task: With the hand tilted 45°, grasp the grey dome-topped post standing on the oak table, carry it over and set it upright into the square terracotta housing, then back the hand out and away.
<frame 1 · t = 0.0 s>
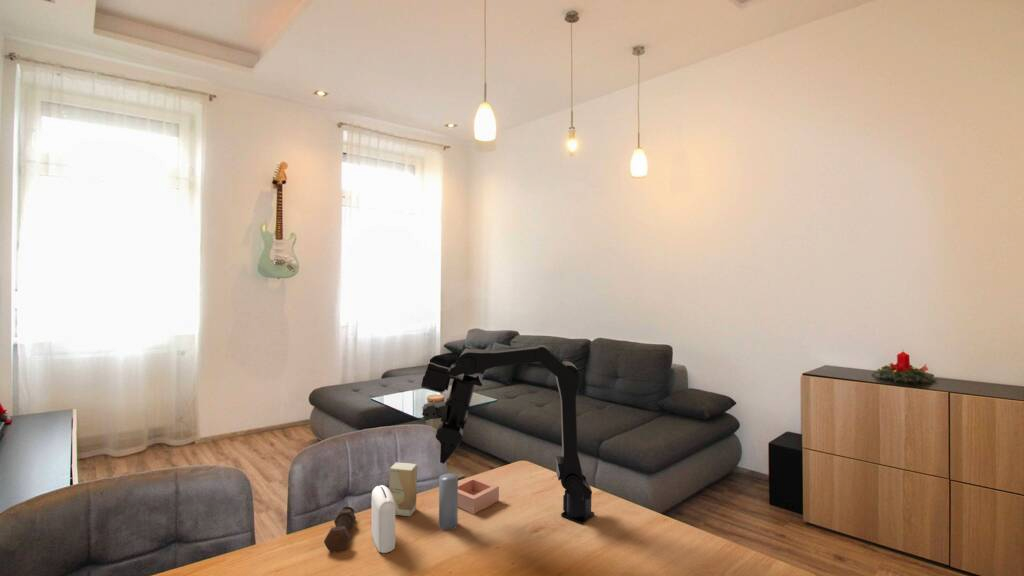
hand: (444, 456, 126), 15 cm above the table, tool pointing down, fingers open, 9 cm apart
housing: (473, 501, 134), on the table
skincare box: (402, 512, 128), on the table
photo printer: (383, 542, 114), on the table
bolt: (343, 535, 117), on the table
grey dome-topped post: (448, 525, 121), on the table
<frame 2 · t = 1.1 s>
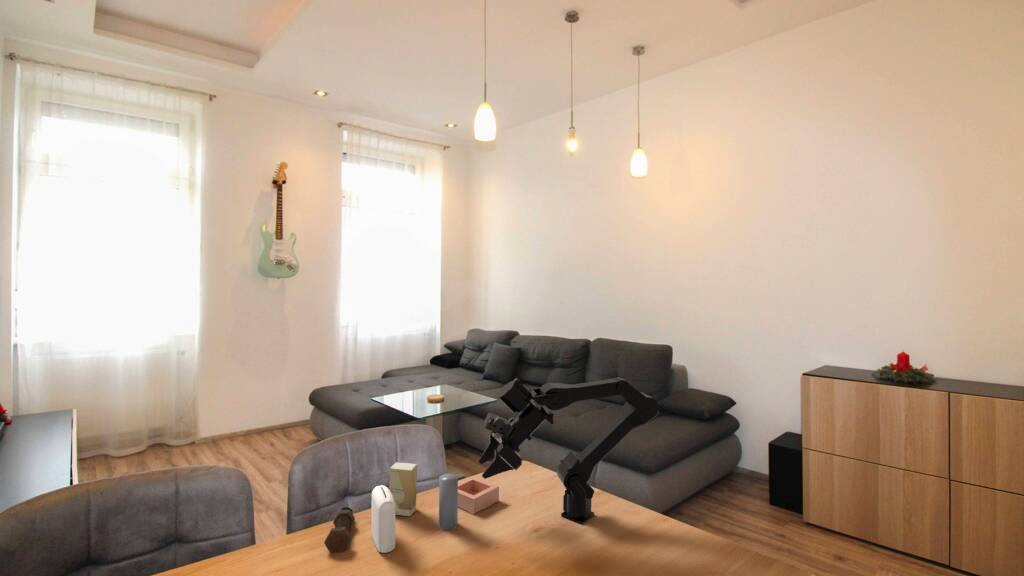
hand: (481, 469, 122), 13 cm above the table, tool tilted 45°, fingers open, 9 cm apart
nothing on the table moved.
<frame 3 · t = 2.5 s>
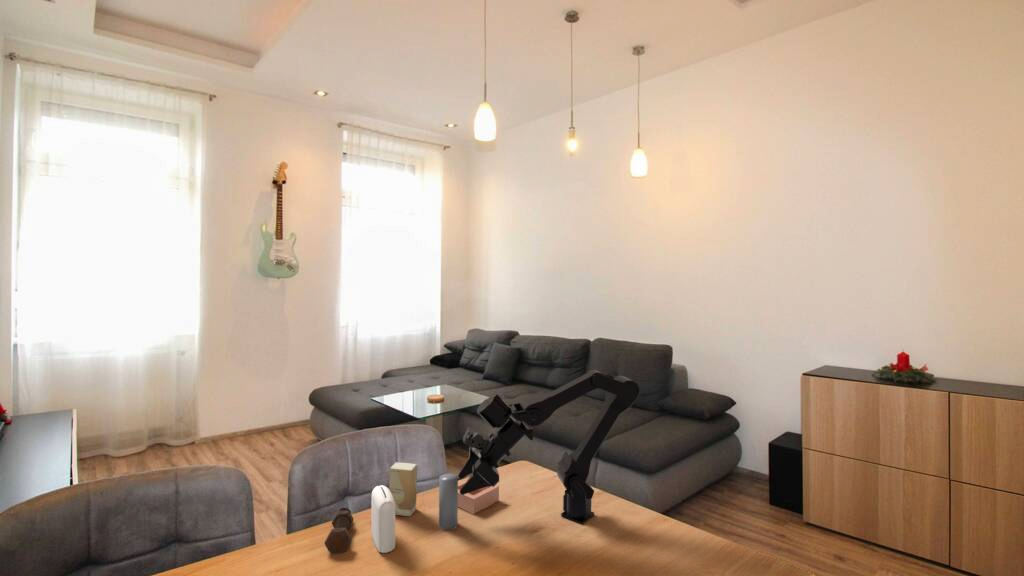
hand: (459, 485, 122), 10 cm above the table, tool tilted 45°, fingers open, 9 cm apart
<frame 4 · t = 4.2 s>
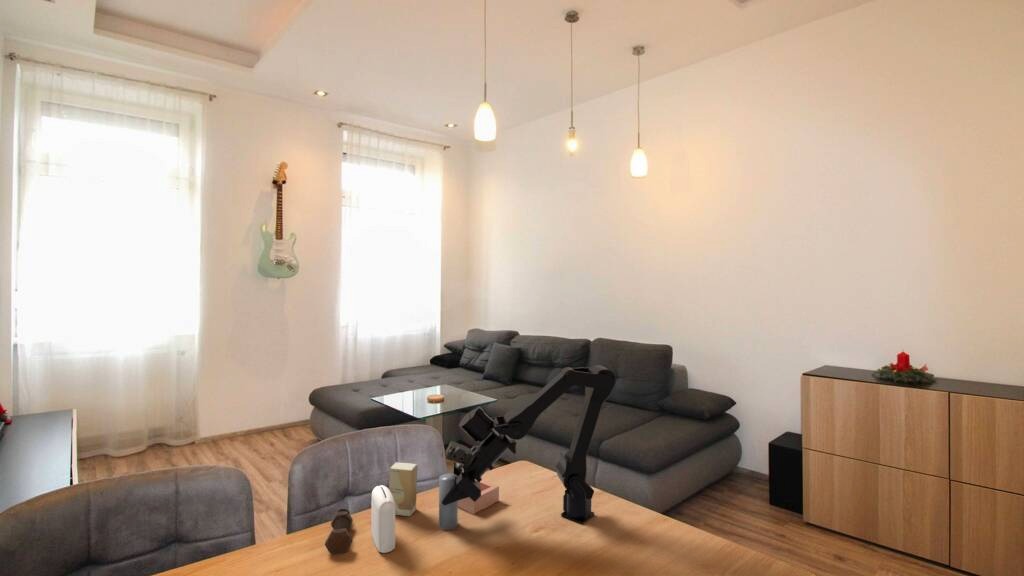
hand: (442, 499, 121), 7 cm above the table, tool tilted 45°, fingers closed on grey dome-topped post, 5 cm apart
grey dome-topped post: (448, 525, 121), on the table, touching gripper
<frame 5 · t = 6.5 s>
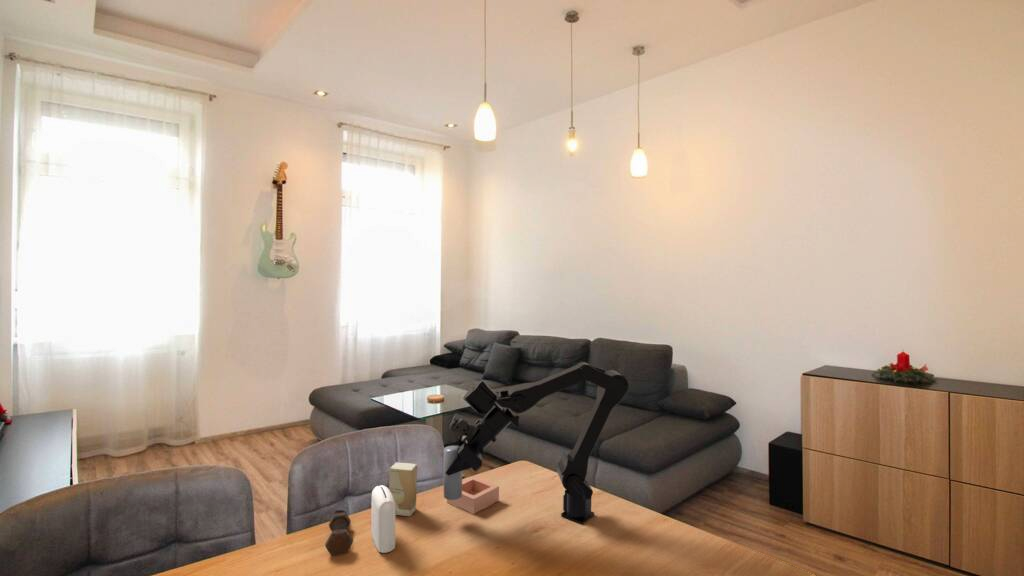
hand: (447, 470, 124), 13 cm above the table, tool tilted 45°, fingers closed on grey dome-topped post, 5 cm apart
grey dome-topped post: (452, 495, 124), point 6 cm above the table, touching gripper
when the fingers open (9 cm above the table, at t = 8.9 s): grey dome-topped post drops 1 cm, resting on housing.
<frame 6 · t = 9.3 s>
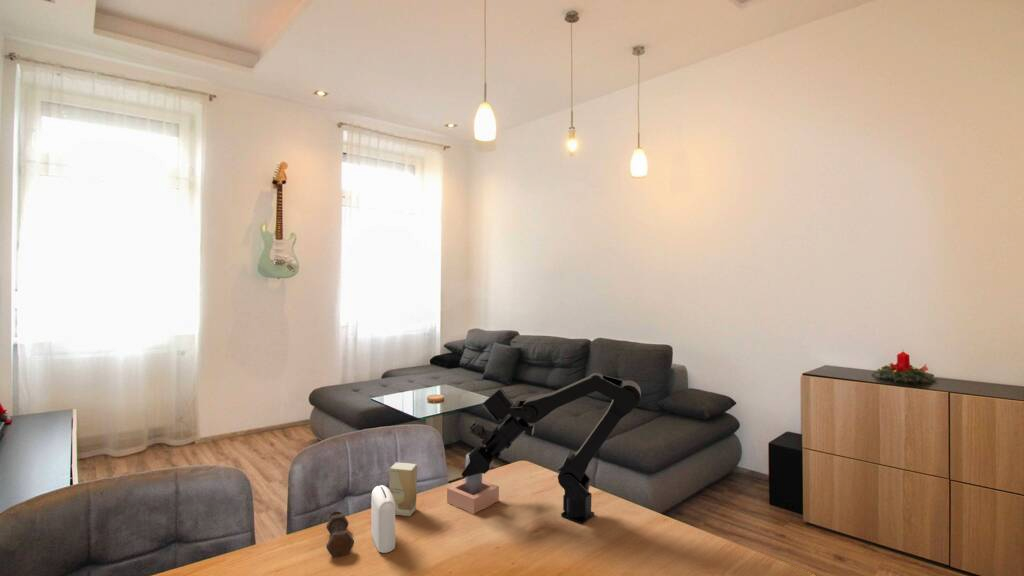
hand: (468, 469, 134), 9 cm above the table, tool tilted 45°, fingers open, 9 cm apart
grey dome-topped post: (473, 498, 134), point 1 cm above the table, touching housing
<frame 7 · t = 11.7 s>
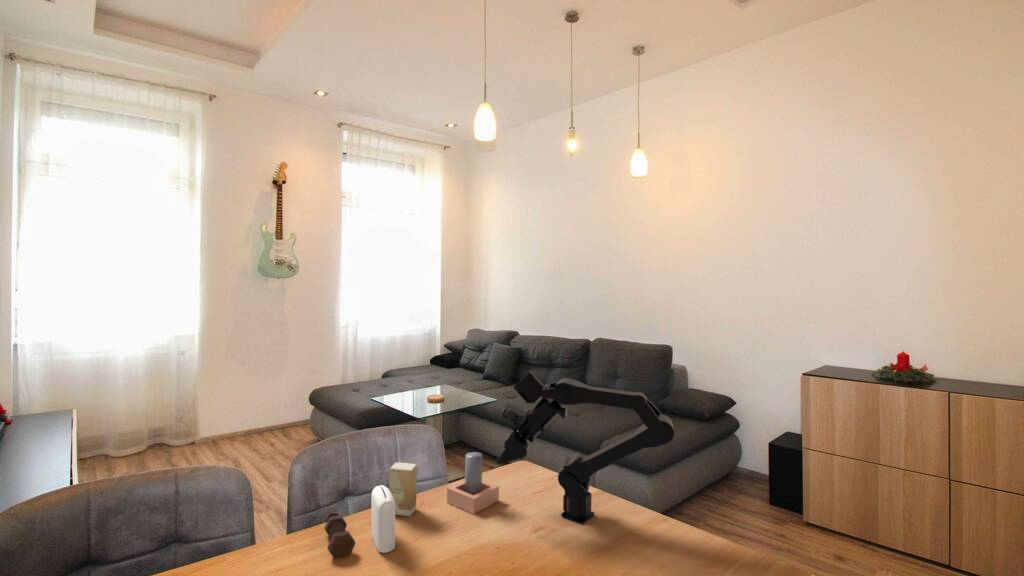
hand: (501, 455, 132), 14 cm above the table, tool tilted 40°, fingers open, 9 cm apart
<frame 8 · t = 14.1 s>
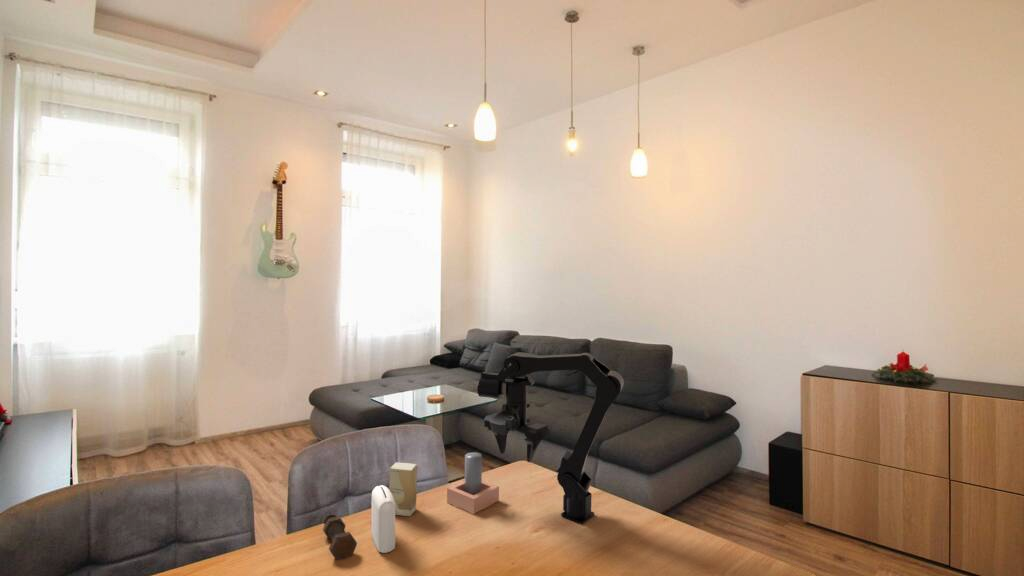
hand: (515, 457, 132), 13 cm above the table, tool pointing down, fingers open, 9 cm apart
at the end: grey dome-topped post 0.0 cm off-centre on the housing, point 0.8 cm above the housing's base; grey dome-topped post tilted 1°; the gripper is holding nothing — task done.
